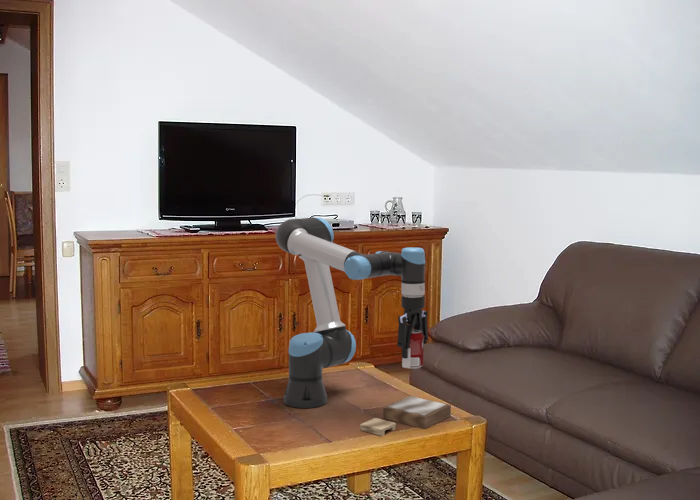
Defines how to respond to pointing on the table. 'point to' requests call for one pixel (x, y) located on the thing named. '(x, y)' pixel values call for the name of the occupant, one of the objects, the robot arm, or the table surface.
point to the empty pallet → (377, 426)
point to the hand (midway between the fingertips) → (412, 365)
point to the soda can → (416, 349)
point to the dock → (417, 412)
